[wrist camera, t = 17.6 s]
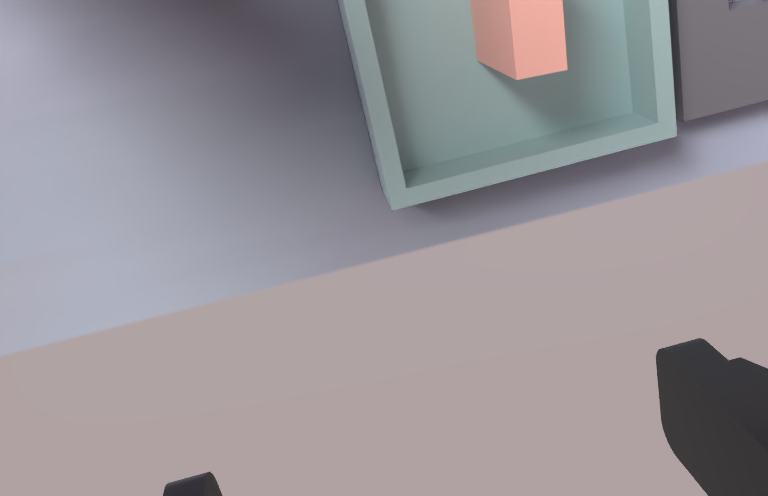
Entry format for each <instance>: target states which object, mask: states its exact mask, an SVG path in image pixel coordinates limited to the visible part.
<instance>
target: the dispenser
mask: <svg viewBox="0 0 768 496" xmlns="http://www.w3.org/2000/svg"><path fill="white" fill-rule="evenodd" d="M668 5H669V21H670V36H671V51H672V66H673V81H674V96H675V111H676V119H678V120H681V121H683V122H686V121H690V120H694V119H697V118H701V117H705V116H709V115H713V114H717V113H721V112H724V111H728V110H732V109H736V108H740V107H744V106H747V105H751V104H755V103H759V102H763V101H767V100H768V0H740V1H736V2H732V3H729V0H668Z"/></svg>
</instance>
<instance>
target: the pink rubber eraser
mask: <svg viewBox="0 0 768 496" xmlns="http://www.w3.org/2000/svg"><path fill="white" fill-rule="evenodd" d="M470 5H471V14H472V22H473V30H474V39H475V47H476V55H477V61H479V62H481V63H483V64H485V65H487V66H489V67H491V68H493V69H495V70H497V71H499V72H501V73H504V74H506V75H508V76H510V77H512V78H514V79H516V80H520V79H525V78H530V77H534V76H539V75H544V74H549V73H554V72H559V71H564V70H568V69H567V55H566V42H565V28H564V14H563V1H562V0H470Z"/></svg>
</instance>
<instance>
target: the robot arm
mask: <svg viewBox="0 0 768 496" xmlns="http://www.w3.org/2000/svg"><path fill="white" fill-rule="evenodd" d="M656 364H657V376H658V388H659V399H660V410H661V421H662V426H663V430H664V433H665V436H666V438H667V441H668V443H669V445H670V447H671V449H672V451H673V452H674V454H675V455H676V456H677V458H678V459H679V460H680V461H681V463H682V464H683V465H684V466H685V468H686V469H687V470H688V471H689V473H690V474H691V475H692V476H693V477H694V479H695V480H696V481H697V482H698V483H699V485H700V486H701V487H702V489H703V490H704V491H705V492H706V493H707V495H708V496H768V369H767V368H765V367H762V366H760V365H758V364H755V363H752V362H750V361H748V360H745V359H743V358H736V359H732V360H729V361H728V360H727V359H726V358H725V357H724V356H723V355H722V354H720V353H719V352H718V351H717V350H716V349H715V348H714V347H713V346H711V345H710V344H709V343H708V342H707V341H705V340H704V339H700V338H699V339H695V340H691V341H688V342H684V343H680V344H677V345H673V346H669V347H666V348H662V349H659V350H658V352H657V355H656ZM163 496H222V494H221V491H220V489H219V486H218V484H217V481H216V479H215V477H214V475H213V474H212V473H211V472H207V473H203V474H200V475H196V476H193V477H189V478H185V479H182V480H178V481H175V482H171V483H168V484H167V485H166V486H165V489H164V494H163Z"/></svg>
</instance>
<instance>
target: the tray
mask: <svg viewBox="0 0 768 496" xmlns="http://www.w3.org/2000/svg"><path fill="white" fill-rule="evenodd" d="M562 1H563V14H564V28H565V42H566V55H567V69H568V70H564V71H559V72H554V73H549V74H544V75H539V76H534V77H530V78H525V79H520V80H516V79H514V78H512V77H510V76H508V75H506V74H504V73H501V72H499V71H497V70H495V69H493V68H491V67H489V66H487V65H485V64H483V63H481V62H479V61H477V55H476V47H475V39H474V30H473V22H472V14H471V5H470V0H337V2H338V6H339V10H340V14H341V18H342V23H343V27H344V31H345V35H346V40H347V44H348V48H349V52H350V57H351V61H352V65H353V69H354V73H355V78H356V82H357V86H358V90H359V95H360V99H361V103H362V107H363V112H364V116H365V120H366V124H367V129H368V133H369V137H370V141H371V145H372V150H373V154H374V158H375V162H376V167H377V171H378V175H379V179H380V184H381V188H382V191H383V193H384V195H385V197H386V199H387V201H388V203H389V205H390V207H391V210H392V211H394V210H397V209H401V208H405V207H409V206H413V205H417V204H420V203H424V202H428V201H432V200H436V199H440V198H443V197H447V196H451V195H455V194H459V193H462V192H466V191H470V190H474V189H478V188H482V187H485V186H489V185H493V184H497V183H501V182H505V181H508V180H512V179H516V178H520V177H524V176H527V175H531V174H535V173H539V172H543V171H547V170H550V169H554V168H558V167H562V166H566V165H569V164H573V163H577V162H581V161H585V160H589V159H592V158H596V157H600V156H604V155H608V154H612V153H615V152H619V151H623V150H627V149H631V148H634V147H638V146H642V145H646V144H650V143H654V142H657V141H661V140H665V139H669V138H673V137H677V127H676V111H675V96H674V81H673V66H672V51H671V36H670V21H669V5H668V0H562Z"/></svg>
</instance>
